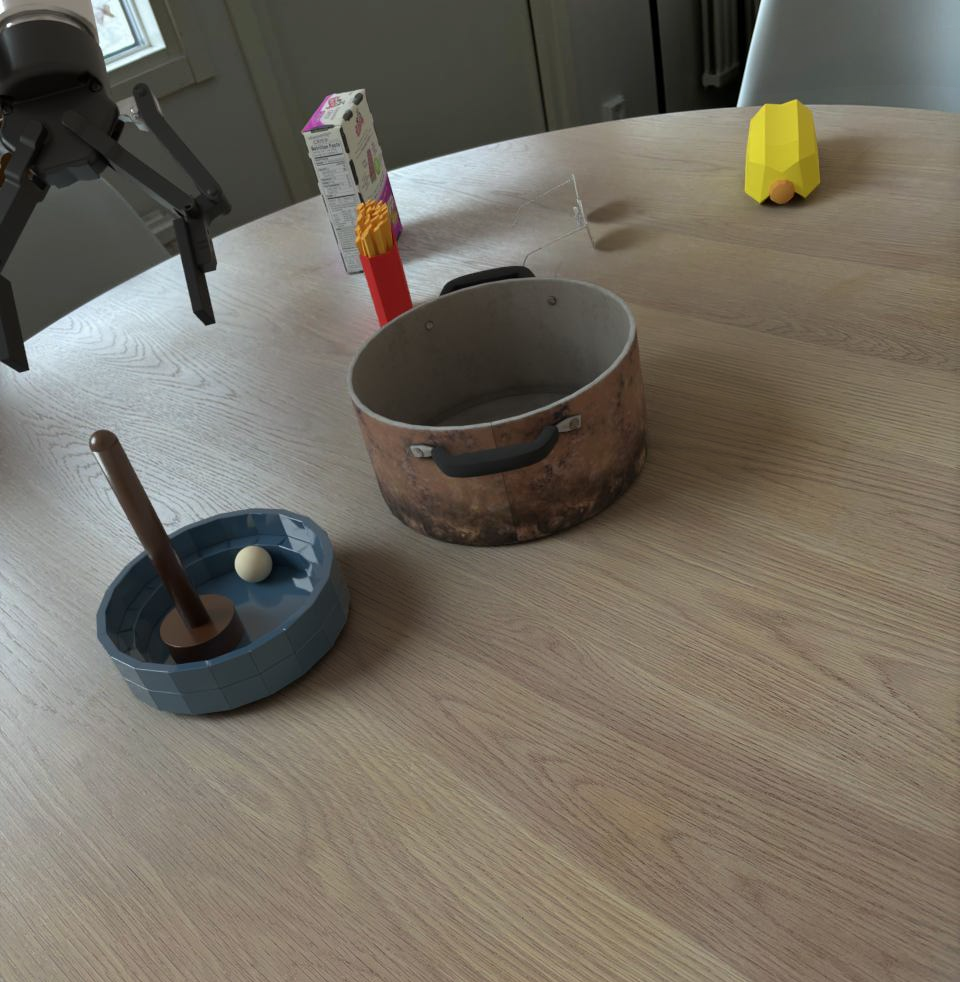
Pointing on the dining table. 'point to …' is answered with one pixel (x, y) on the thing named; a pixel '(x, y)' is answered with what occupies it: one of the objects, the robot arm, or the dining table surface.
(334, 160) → the candy bar box
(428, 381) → the cooking pot
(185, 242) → the robot arm
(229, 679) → the bowl
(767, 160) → the yellow faceted bell
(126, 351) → the dining table surface
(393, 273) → the french fries
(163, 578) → the brown plunger
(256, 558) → the beige ball
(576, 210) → the eyeglasses frame
